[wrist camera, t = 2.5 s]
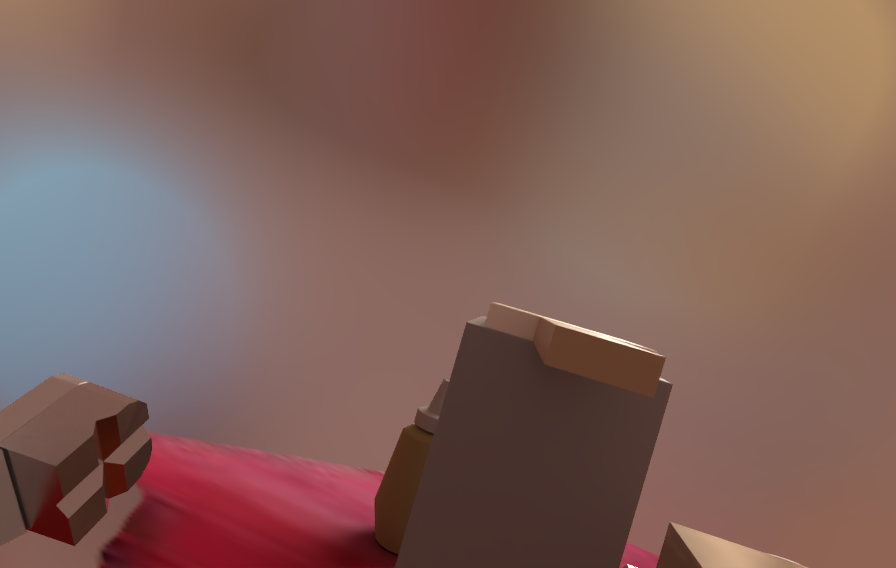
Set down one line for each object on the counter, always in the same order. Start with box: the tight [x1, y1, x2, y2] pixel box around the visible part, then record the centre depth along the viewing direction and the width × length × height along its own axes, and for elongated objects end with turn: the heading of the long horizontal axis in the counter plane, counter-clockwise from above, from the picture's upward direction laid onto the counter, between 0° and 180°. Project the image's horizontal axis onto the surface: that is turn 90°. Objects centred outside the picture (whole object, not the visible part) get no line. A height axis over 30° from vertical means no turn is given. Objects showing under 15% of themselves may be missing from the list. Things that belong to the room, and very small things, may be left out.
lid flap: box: [484, 302, 665, 398], centre depth 33 cm, size 10×25×2 cm, turn 173°
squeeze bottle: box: [375, 379, 450, 555], centre depth 60 cm, size 8×8×18 cm
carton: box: [395, 316, 673, 568], centre depth 40 cm, size 12×16×26 cm
